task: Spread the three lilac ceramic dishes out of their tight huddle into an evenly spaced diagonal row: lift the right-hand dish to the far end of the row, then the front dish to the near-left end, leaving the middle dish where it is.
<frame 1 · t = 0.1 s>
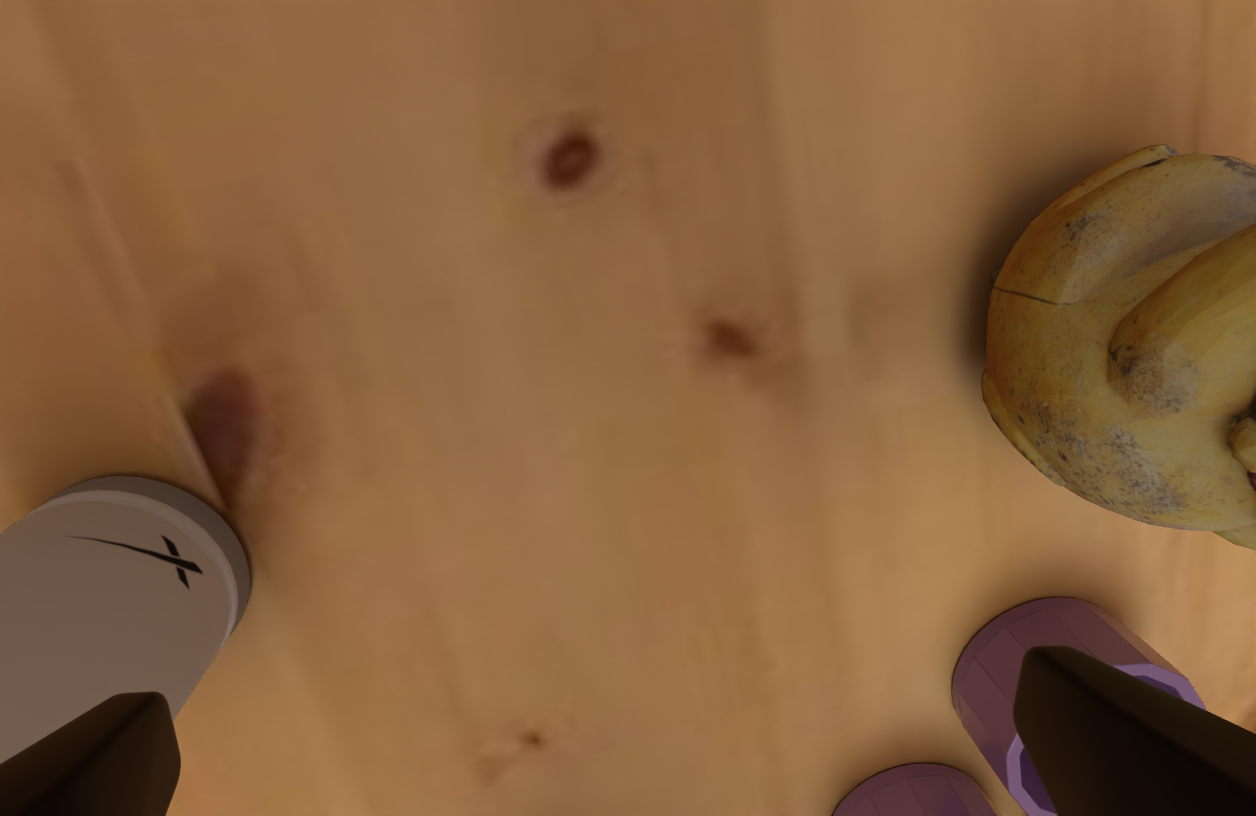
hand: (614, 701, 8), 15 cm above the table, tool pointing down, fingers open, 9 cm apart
travel mug: (145, 560, 23), on the table
decorative figurine: (1074, 327, 23), on the table
dish c: (1038, 674, 27), on the table
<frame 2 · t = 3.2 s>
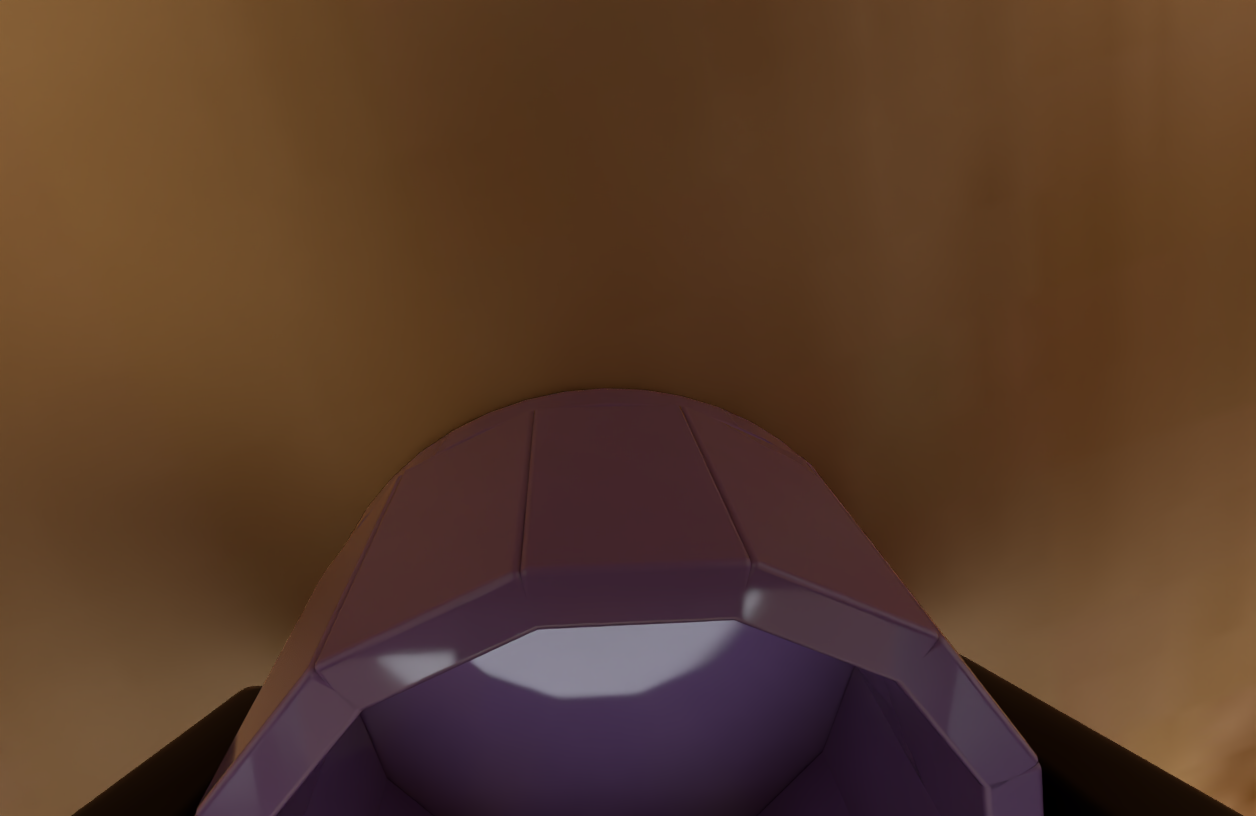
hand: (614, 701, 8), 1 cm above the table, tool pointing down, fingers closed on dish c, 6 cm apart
dish c: (606, 641, 9), on the table, touching gripper
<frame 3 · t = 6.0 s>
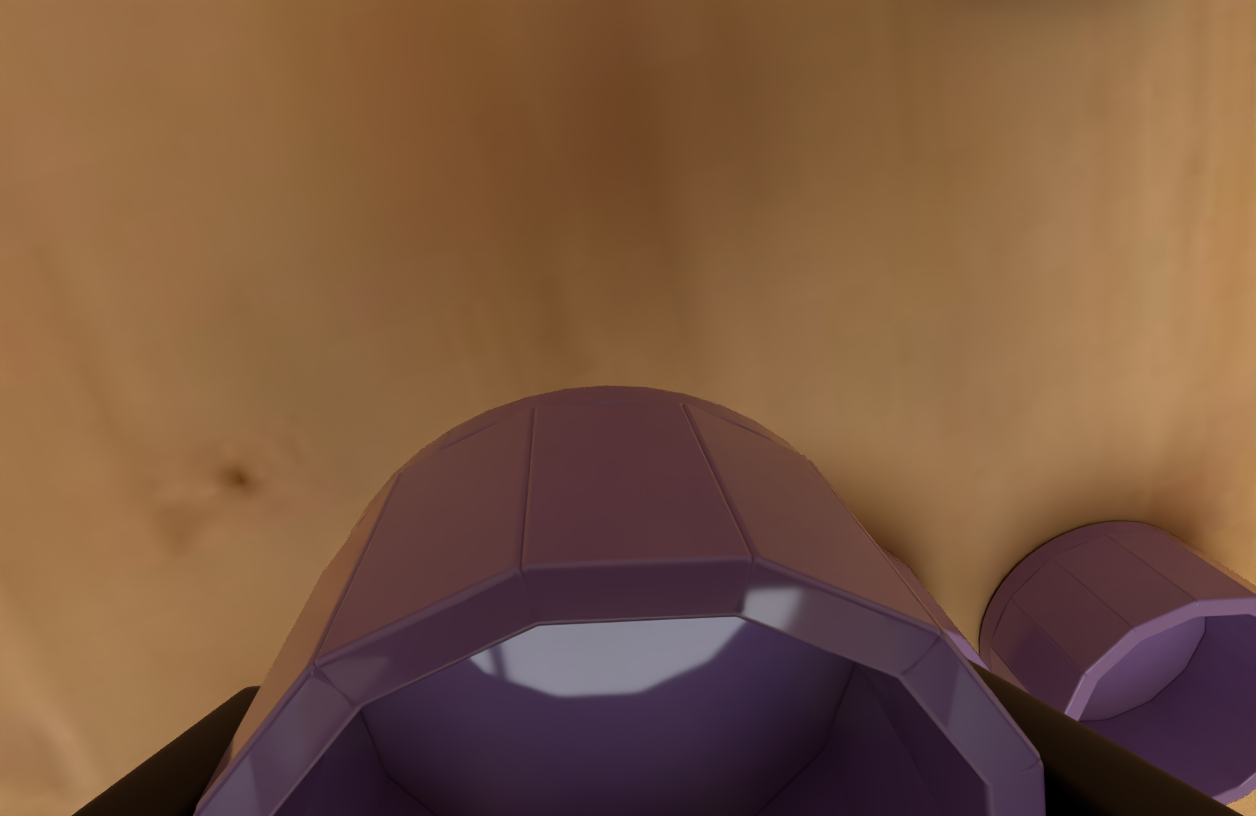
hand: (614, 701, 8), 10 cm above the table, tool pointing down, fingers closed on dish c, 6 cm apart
dish b: (810, 639, 20), on the table
dish c: (606, 640, 9), point 9 cm above the table, touching gripper
dish a: (1091, 624, 21), on the table
when the fingers open (1 cm above the table, at t = 9.1 s): dish c stays where it is, on the table.
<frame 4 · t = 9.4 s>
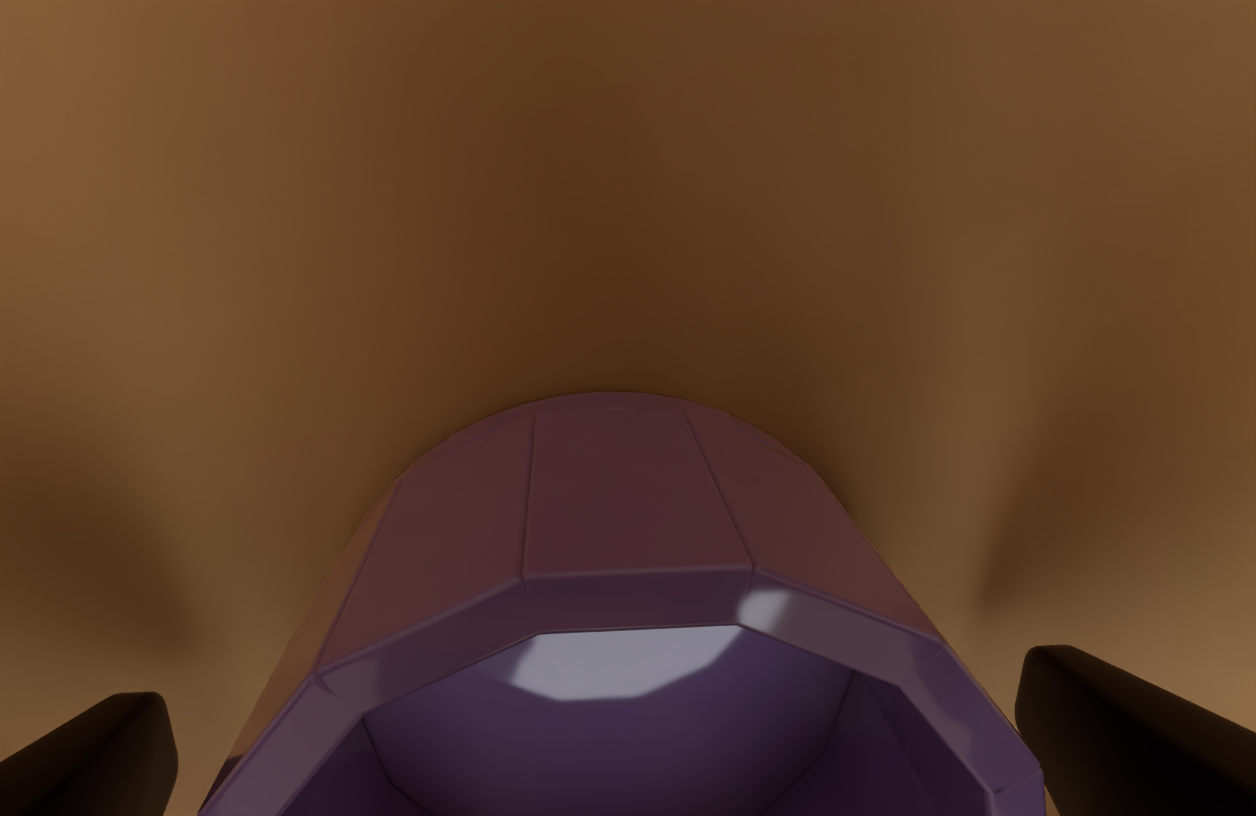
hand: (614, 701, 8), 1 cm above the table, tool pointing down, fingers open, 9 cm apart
dish c: (607, 644, 9), on the table
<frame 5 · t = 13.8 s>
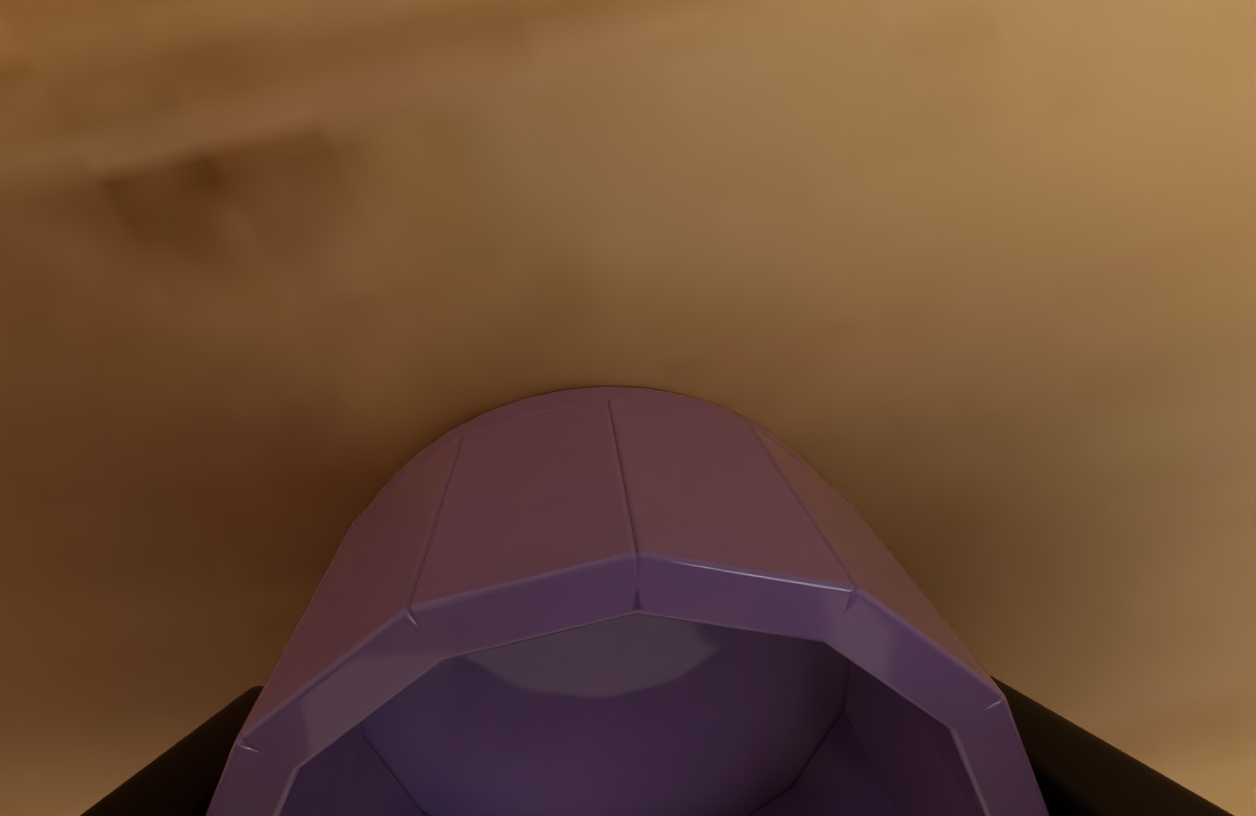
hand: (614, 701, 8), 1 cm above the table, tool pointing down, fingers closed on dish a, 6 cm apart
dish a: (606, 641, 9), on the table, touching gripper
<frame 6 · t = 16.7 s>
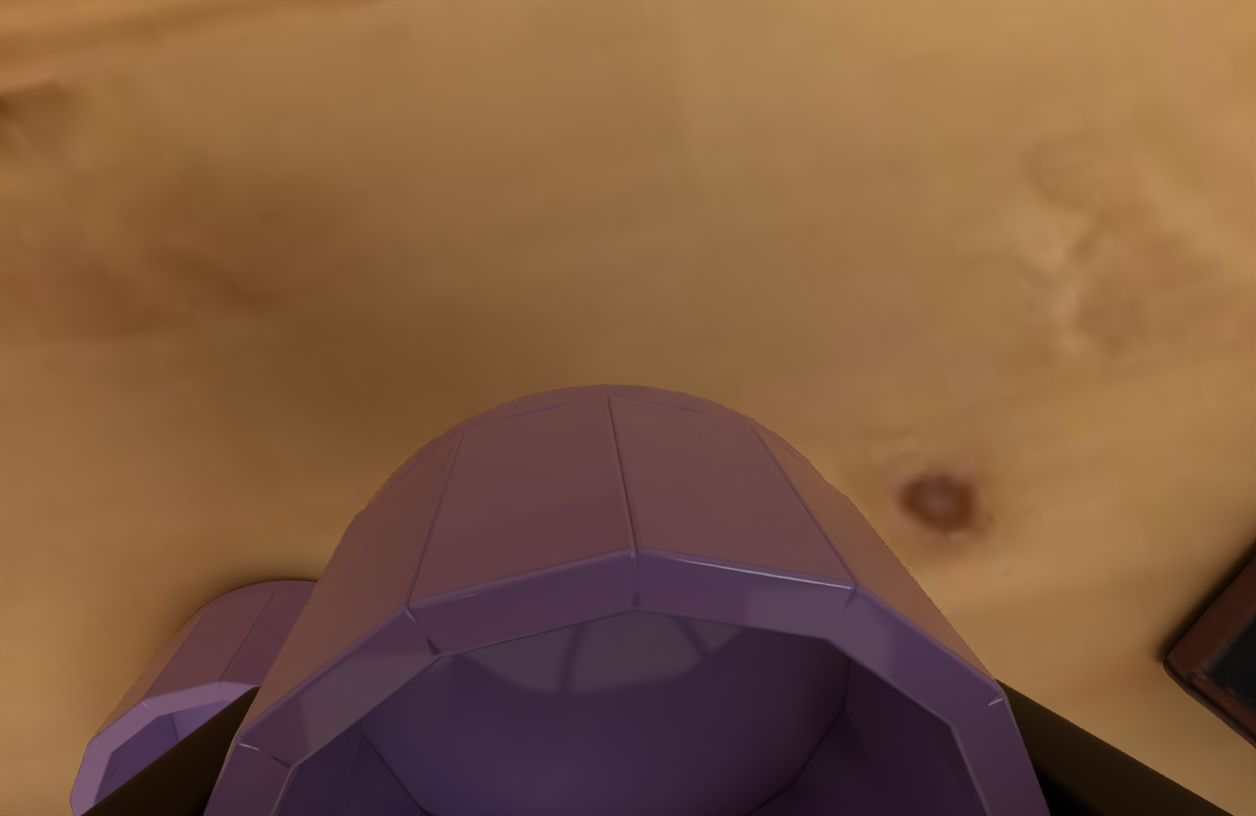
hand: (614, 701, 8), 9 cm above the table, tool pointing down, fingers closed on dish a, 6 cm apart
dish b: (303, 693, 19), on the table
dish a: (605, 639, 9), point 8 cm above the table, touching gripper
when the fingers open (1 cm above the table, at t = 19.5 s): dish a stays where it is, on the table.
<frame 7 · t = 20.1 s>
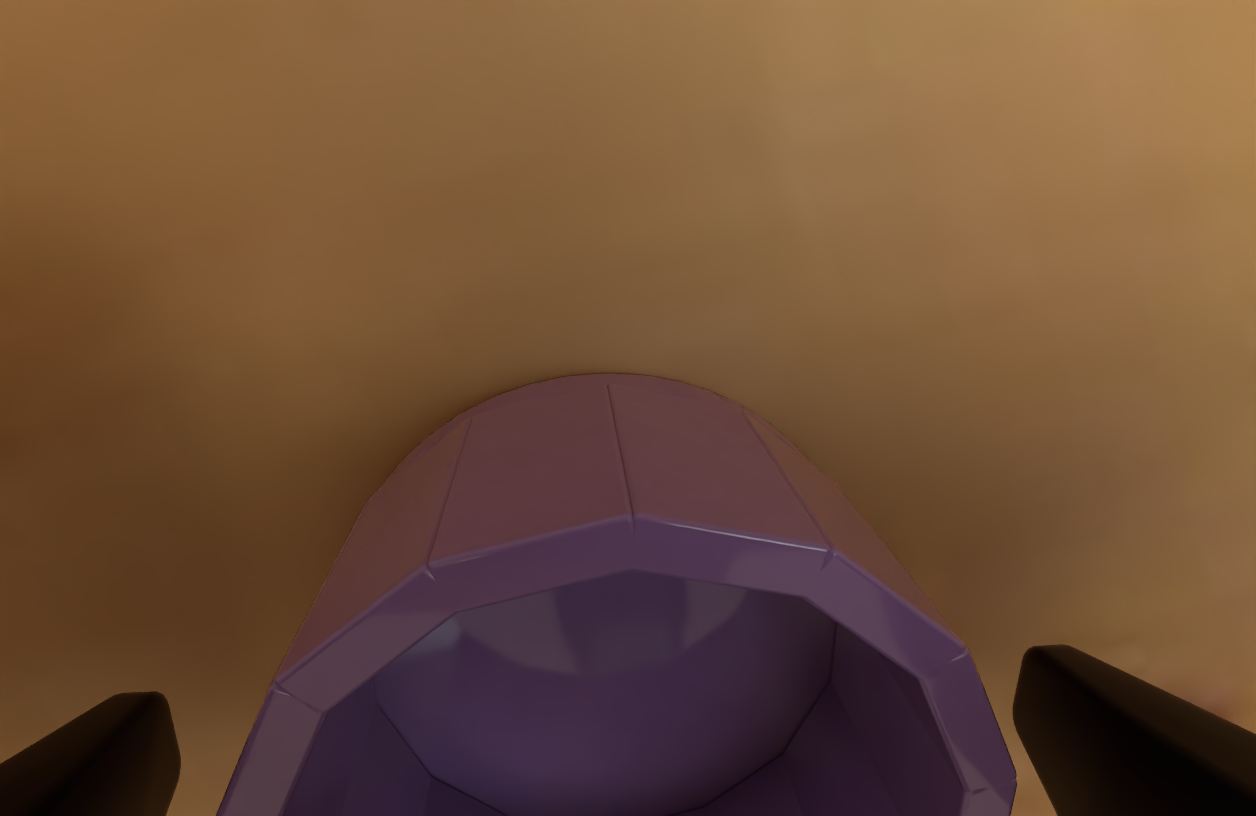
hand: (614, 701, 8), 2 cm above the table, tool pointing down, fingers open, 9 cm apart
dish a: (605, 615, 10), on the table
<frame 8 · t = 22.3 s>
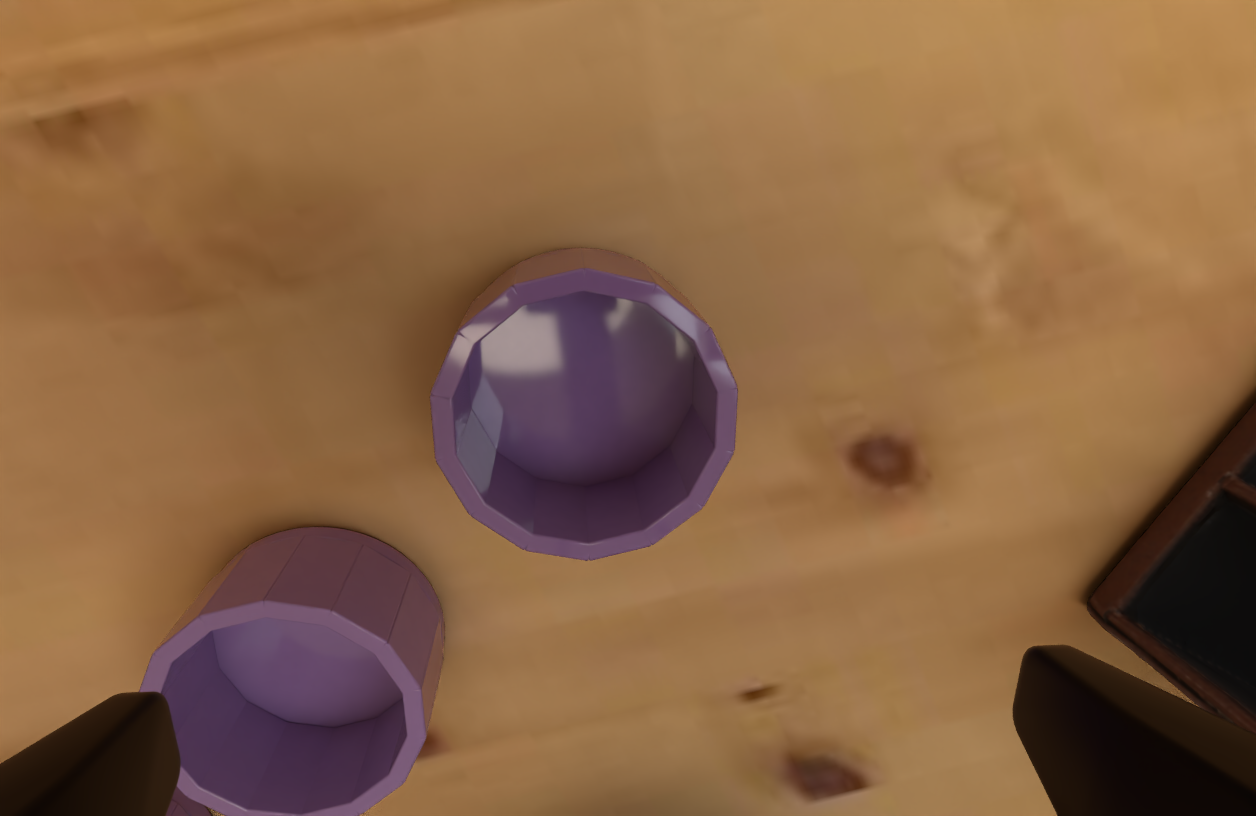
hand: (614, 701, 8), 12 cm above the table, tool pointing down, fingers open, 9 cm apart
dish b: (327, 628, 21), on the table
dish a: (582, 374, 19), on the table
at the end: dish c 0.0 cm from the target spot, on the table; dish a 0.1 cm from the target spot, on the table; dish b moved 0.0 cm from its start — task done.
